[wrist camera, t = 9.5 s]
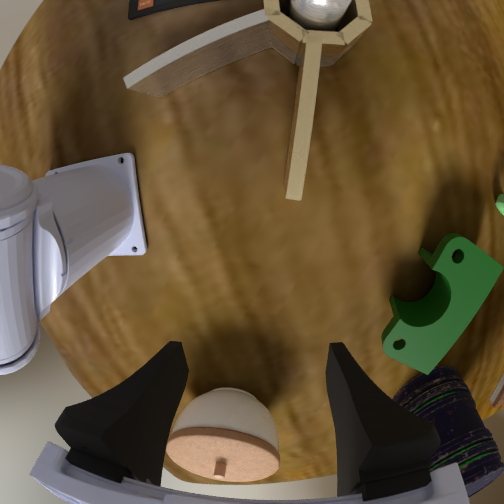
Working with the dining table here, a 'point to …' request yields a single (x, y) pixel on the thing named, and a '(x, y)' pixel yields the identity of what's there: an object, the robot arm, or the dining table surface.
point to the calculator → (157, 6)
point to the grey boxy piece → (498, 394)
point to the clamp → (441, 304)
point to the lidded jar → (226, 437)
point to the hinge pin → (318, 13)
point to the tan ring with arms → (250, 42)
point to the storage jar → (454, 426)
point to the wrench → (500, 203)
